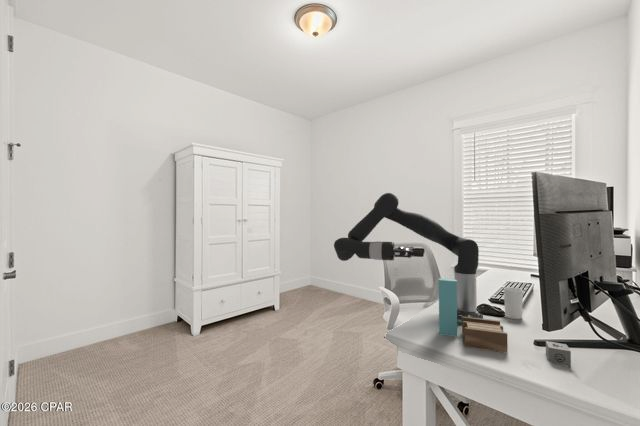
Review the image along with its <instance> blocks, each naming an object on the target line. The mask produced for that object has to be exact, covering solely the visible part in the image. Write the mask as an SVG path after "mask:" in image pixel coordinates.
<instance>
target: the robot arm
mask: <svg viewBox="0 0 640 426" xmlns="http://www.w3.org/2000/svg"><path fill="white" fill-rule="evenodd" d="M383 219H387V220H389V221H392V222H394V223H397V224H399V225H400V226H402V227H404V228H406V229H408V230H410V231H412V232H414V234H415V233H416V234H417V235H418V236H421V237H422V238H425V239H427V240H429V241H431V242H434V243H435V244H439V246H440V245H441V246H442V247H444V248H445V249H446V250H448V251H450V252H451V253H453V254H454V255H455V256H457V264H455V265H454V270H453V272H454V279H455V280H457V310H458V311H462V312H465V313H466V312H472V313H476V312H477V310H476V309H478V308H477V307H478V306H477V305H478V303H477V301H478V299H477V297H478V296H477V294H478V293H477V270H478V268H479V255H480V254H479V253H480V252H479V246H478V244H477V241H475V240H474V239H471V238H464V237H461V236H458V235H457V234H453V233H452V232H450V231H449V230H446V229H445V228H444V227H443V225H440V224H439V223H438V222H437V221H436V220H434V219H432V218H431V217H428V216H426V215H424V214H421V213H416V212H409V211H406V210H404V209H403V210H402V209H401V208H399V198H398V197H397V195H395V194H394V193H391V192H386V193H384V194H381V195H380V197H379V198H378V199H377V200H376V201H375V202H374V205H373V208H372V209H371V210H370V211H369V212H368V213H367V214H366V215H365V216H364V217H363V218H362V219H361V220H360V221H358V222H357V224H355V225H354V227H352V229H350V230H349V232H348V233H347V237H340V238H338V239H336V240H335V241H334V243H333V248H334V250H335V253H336V257H337V258H338V259H339V260H340V261H342V262H344V261H348V260H351V259H352V257H354V255H356V256H357V258H359V259H364V260H365V259H368V260H370V259H371V260H376V261H394V260H395V258H408V259H411V258H416V257H418V258H421V257H422V258H423V257H424V256H425V255H424V254H425V252H426V251H425V248H424V247H423V248H422V247H414V246H402V245H399V246H397V247H395V246H396V245H395V242H393V241H379V240H378V241H364V240H365V239H366V238H367V237H368V236H369V235H370V234H371V232H372V231H373V230H374V229H376V226H377V225H379V223H380V222H381V221H382V220H383Z"/></svg>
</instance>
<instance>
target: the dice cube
mask: <svg viewBox="0 0 640 426" xmlns="http://www.w3.org/2000/svg"><path fill="white" fill-rule="evenodd" d="M571 354H572V352H571V349H570V348H569V346H568V345H567V344H566V343H560V342H554V341H548V340H545V355H546V358H547V360H548V362H550V363H555V364H559V365H565V366H566V367H567V369H572V355H571Z"/></svg>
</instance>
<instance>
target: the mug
mask: <svg viewBox="0 0 640 426" xmlns="http://www.w3.org/2000/svg"><path fill="white" fill-rule="evenodd" d="M523 293H524V291H523V289H521V288H519V287H518V288H517V287H511V286H508V287H507V286H506V287H503V294H504V295H503V296H504V297H503V298H504V315H505V317H506V318H509V319H512V320H521V319H522V320H523V298H524V297H523V296H524V294H523Z"/></svg>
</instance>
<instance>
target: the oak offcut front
mask: <svg viewBox="0 0 640 426" xmlns="http://www.w3.org/2000/svg"><path fill="white" fill-rule="evenodd" d="M467 328H475V329H483V330H490V331H498V332H504V330H503V331H502V329H494V328H486V327H478V326H470V325H467Z"/></svg>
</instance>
